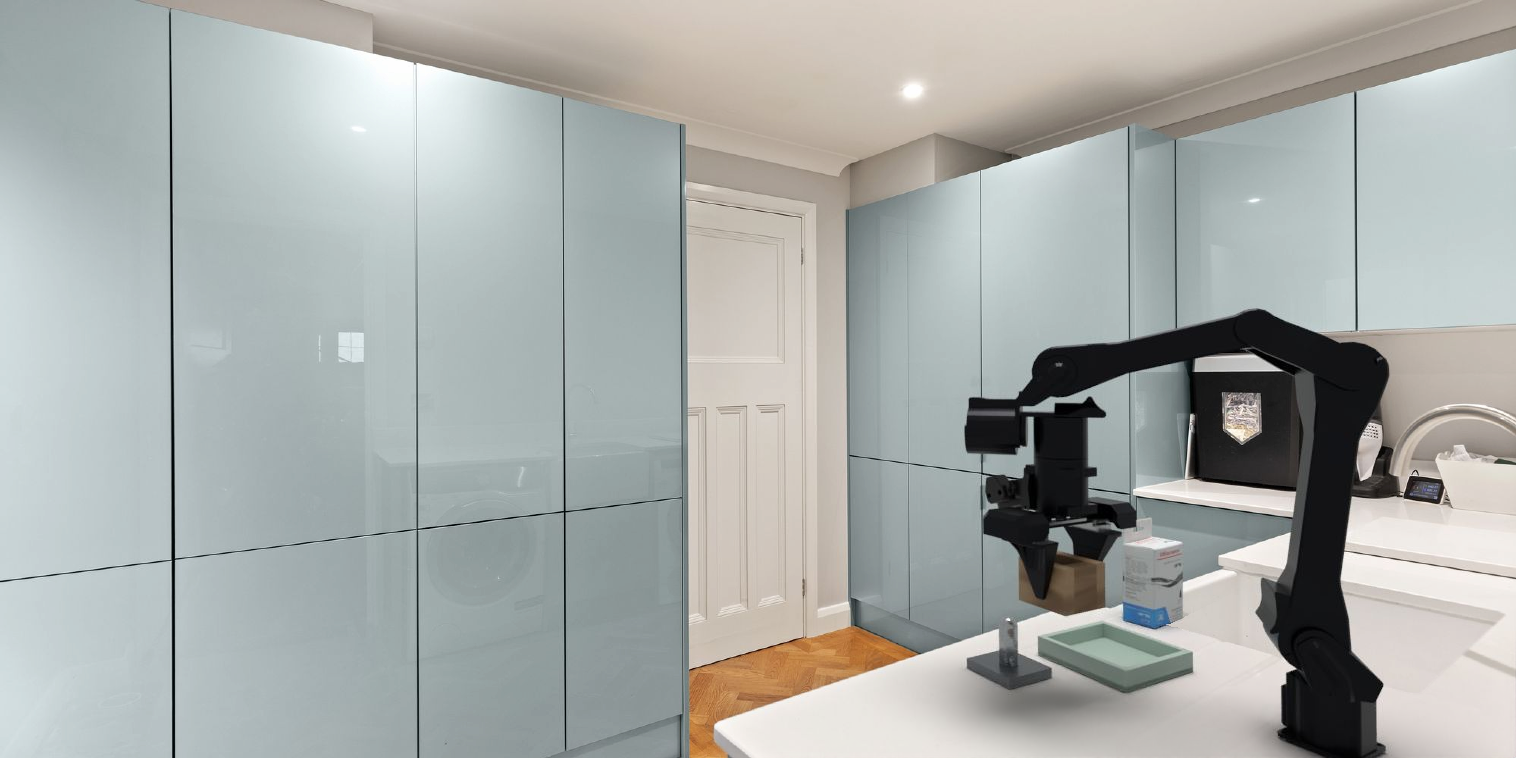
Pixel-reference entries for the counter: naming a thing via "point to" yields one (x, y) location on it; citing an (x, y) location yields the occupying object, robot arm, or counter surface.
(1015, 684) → the stand
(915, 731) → the counter surface
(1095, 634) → the sage tray
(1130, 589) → the ink box
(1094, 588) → the walnut block
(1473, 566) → the counter surface
